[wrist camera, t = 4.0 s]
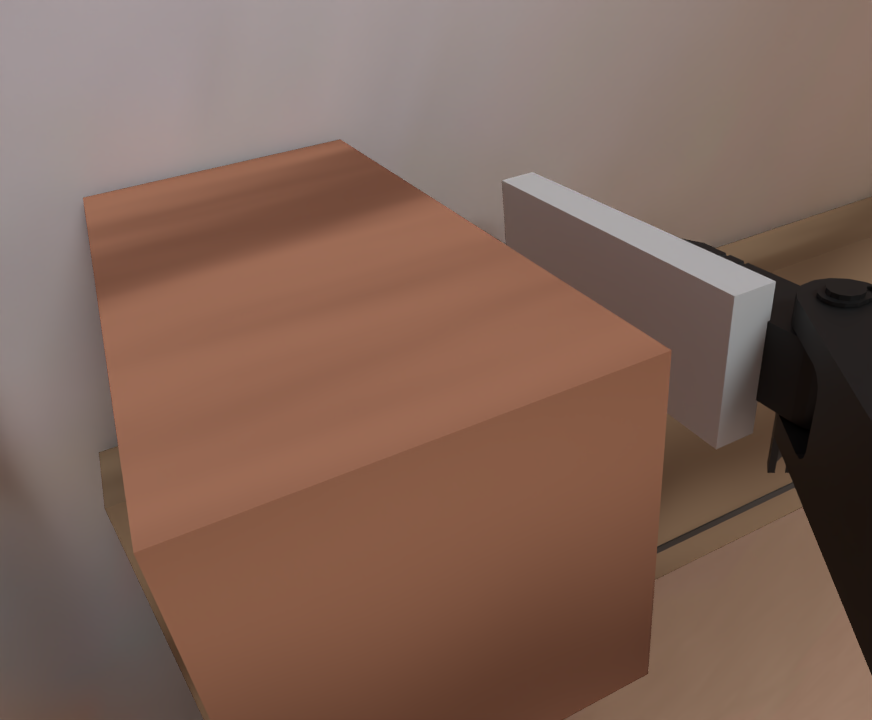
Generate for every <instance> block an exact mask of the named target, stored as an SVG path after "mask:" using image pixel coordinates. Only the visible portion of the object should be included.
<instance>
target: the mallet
mask: <svg viewBox="0 0 872 720" xmlns="http://www.w3.org/2000/svg"><path fill="white" fill-rule="evenodd" d="M83 201H84V208H85V215H86V222H87V229H88V236H89V243H90V250H91V257H92V264H93V271H94V279H95V286H96V293H97V300H98V307H99V314H100V321H101V328H102V335H103V342H104V349H105V356H106V363H107V370H108V377H109V384H110V392H111V399H112V406H113V413H114V420H115V427H116V434H117V441H118V448H119V455H120V462H121V469H122V476H123V483H124V490H125V498H126V505H127V512H128V519H129V526H130V533H131V540H132V547H133V553H134V556H135V558H136V560H137V562H138V564H139V566H140V569H141V571H142V573H143V575H144V577H145V579H146V582H147V584H148V586H149V588H150V590H151V592H152V595H153V597H154V599H155V601H156V603H157V605H158V608H159V610H160V612H161V614H162V616H163V618H164V621H165V623H166V625H167V627H168V629H169V631H170V634H171V636H172V638H173V640H174V642H175V645H176V647H177V649H178V651H179V653H180V655H181V658H182V660H183V662H184V664H185V666H186V668H187V671H188V673H189V675H190V677H191V679H192V681H193V684H194V686H195V688H196V690H197V692H198V694H199V697H200V699H201V701H202V703H203V705H204V707H205V710H206V712H207V714H208V716H209V718H210V720H563V719H565V718H567V717H569V716H571V715H573V714H574V713H576V712H578V711H580V710H582V709H584V708H585V707H587V706H589V705H591V704H593V703H595V702H597V701H598V700H600V699H602V698H604V697H606V696H608V695H610V694H611V693H613V692H615V691H617V690H619V689H621V688H623V687H624V686H626V685H628V684H630V683H632V682H634V681H636V680H637V679H639V678H641V677H643V676H645V675H647V674H648V666H649V652H650V638H651V625H652V611H653V598H654V584H655V570H656V557H657V543H658V529H659V516H660V502H661V489H662V475H663V461H664V448H665V434H666V421H667V407H668V393H669V380H670V366H671V352H672V350H670V349H669V348H667V347H666V346H664V345H662V344H661V343H659V342H658V341H656V340H655V339H653V338H651V337H650V336H648V335H647V334H645V333H644V332H642V331H640V330H639V329H637V328H636V327H634V326H633V325H631V324H629V323H628V322H626V321H625V320H623V319H622V318H620V317H618V316H617V315H615V314H614V313H612V312H611V311H609V310H607V309H606V308H604V307H603V306H601V305H600V304H598V303H596V302H595V301H593V300H592V299H590V298H589V297H587V296H585V295H584V294H582V293H581V292H579V291H578V290H576V289H574V288H573V287H571V286H570V285H568V284H567V283H565V282H563V281H562V280H560V279H559V278H557V277H556V276H554V275H552V274H551V273H549V272H548V271H546V270H545V269H543V268H541V267H540V266H538V265H537V264H535V263H534V262H532V261H530V260H529V259H527V258H526V257H524V256H523V255H521V254H519V253H518V252H516V251H515V250H513V249H512V248H510V247H508V246H507V245H505V244H504V243H502V242H501V241H499V240H497V239H496V238H494V237H493V236H491V235H490V234H488V233H486V232H485V231H483V230H482V229H480V228H479V227H477V226H475V225H474V224H472V223H471V222H469V221H468V220H466V219H464V218H463V217H461V216H460V215H458V214H457V213H455V212H453V211H452V210H450V209H449V208H447V207H446V206H444V205H442V204H441V203H439V202H438V201H436V200H435V199H433V198H431V197H430V196H428V195H427V194H425V193H424V192H422V191H420V190H419V189H417V188H416V187H414V186H413V185H411V184H409V183H408V182H406V181H405V180H403V179H402V178H400V177H398V176H397V175H395V174H394V173H392V172H391V171H389V170H387V169H386V168H384V167H383V166H381V165H379V164H378V163H376V162H375V161H373V160H372V159H370V158H368V157H367V156H365V155H364V154H362V153H361V152H359V151H357V150H356V149H354V148H353V147H351V146H350V145H348V144H346V143H345V142H343V141H342V140H336V141H331V142H327V143H323V144H318V145H314V146H309V147H305V148H301V149H296V150H292V151H287V152H283V153H278V154H274V155H270V156H265V157H261V158H256V159H252V160H248V161H243V162H239V163H234V164H230V165H226V166H221V167H217V168H212V169H208V170H203V171H199V172H195V173H190V174H186V175H181V176H177V177H173V178H168V179H164V180H159V181H155V182H150V183H146V184H142V185H137V186H133V187H128V188H124V189H120V190H115V191H111V192H106V193H102V194H97V195H93V196H89V197H84V198H83Z"/></svg>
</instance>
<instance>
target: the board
mask: <svg viewBox="0 0 872 720" xmlns="http://www.w3.org/2000/svg"><path fill="white" fill-rule="evenodd" d="M716 249H718V250H720V251H723V252H725V253H726V255H727V256H728V255H732V256H734V257H736V258H739V259H741V260H743V261H744V264H746V263H750V264H752V265H754V266H757V267H759V268H761V269H764V270H766V271H768V272H770V273H773V274H775V275H777V276H779V277H782V278H784V279H786V280H789V281H791V282H793V283H795V284H798V285H800V286H801V285H802V284H805V283H808V282H810V281H813V280H818V279H826V278H844V279H853V280H858V281H863V282H867V283H870V284H872V197H869V198H866V199H863V200H860V201H857V202H854V203H851V204H848V205H845V206H842V207H839V208H836V209H833V210H830V211H827V212H824V213H821V214H818V215H815V216H812V217H809V218H806V219H802V220H799V221H796V222H793V223H790V224H787V225H784V226H781V227H778V228H775V229H772V230H769V231H766V232H763V233H760V234H757V235H754V236H751V237H748V238H745V239H742V240H739V241H736V242H733V243H730V244H727V245H724V246H721V247H718V248H716ZM775 413H776V412H774V411H772V410H771V409H769V408H768V407H766V406H765V405H763V404H761V403H760V402H757V409H756V416H755V422H754V429H753V433H752V434H750V435H748V436H746V437H743V438H741V439H739V440H736V441H734V442H732V443H730V444H727V445H725V446H723V447H721V448H718V449H715V448H714V447H712V446H711V445H709V444H708V443H707V442H705V441H704V440H703V439H701V438H700V437H699V436H697V435H696V434H695V433H693V432H692V431H691V430H689V429H688V428H687V427H685V426H684V425H682V424H681V423H680V422H678V421H677V420H676V419H674V418H673V417H672V416H670V415H669V414H668V413H667V421H666V434H665V448H664V461H663V475H662V489H661V502H660V516H659V529H658V543H657V557H656V570H655V580H656V579H658V578H660V577H662V576H664V575H666V574H668V573H670V572H672V571H674V570H676V569H678V568H680V567H682V566H684V565H686V564H688V563H690V562H692V561H694V560H696V559H698V558H700V557H702V556H704V555H706V554H708V553H710V552H713V551H715V550H717V549H719V548H721V547H723V546H725V545H727V544H729V543H731V542H733V541H735V540H737V539H739V538H741V537H743V536H745V535H747V534H749V533H751V532H753V531H755V530H757V529H759V528H761V527H763V526H765V525H767V524H769V523H771V522H773V521H775V520H777V519H779V518H781V517H783V516H785V515H787V514H790V513H792V512H794V511H796V510H798V509H800V508H802V507H803V506H802V504H801V501H800V499H799V496H798V494H797V491H796V489H795V487H794V484H793V482H792V479H791V477H790V474H789V473H785V468H786V465H785V462H784V460H783V457H781V458H780V459H779V460H778V461H777V463H776V469H775V473H767V460H768V454H769V449H770V443H771V437H772V431H773V425H774V419H775ZM99 457H100V467H101V477H102V487H103V497H104V506H105V510H106V512H107V514H108V517H109V519H110V521H111V523H112V525H113V527H114V529H115V532H116V534H117V536H118V538H119V540H120V542H121V544H122V546H123V549H124V551H125V553H126V555H127V557H128V559H129V561H130V564H131V566H132V568H133V570H134V572H135V574H136V576H137V578H138V581H139V583H140V585H141V587H142V589H143V591H144V593H145V596H146V598H147V600H148V602H149V604H150V606H151V608H152V610H153V613H154V615H155V617H156V619H157V621H158V623H159V625H160V627H161V630H162V632H163V634H164V636H165V638H166V640H167V642H168V645H169V647H170V649H171V651H172V653H173V655H174V657H175V659H176V662H177V664H178V666H179V668H180V670H181V672H182V674H183V677H184V679H185V681H186V683H187V685H188V687H189V689H190V691H191V694H192V696H193V698H194V700H195V702H196V704H197V706H198V709H199V711H200V713H201V715H202V717H203V719H204V720H210V718H209V716H208V714H207V712H206V710H205V707H204V705H203V703H202V701H201V699H200V697H199V694H198V692H197V690H196V688H195V686H194V684H193V681H192V679H191V677H190V675H189V673H188V671H187V668H186V666H185V664H184V662H183V660H182V658H181V655H180V653H179V651H178V649H177V647H176V645H175V642H174V640H173V638H172V636H171V634H170V631H169V629H168V627H167V625H166V623H165V621H164V618H163V616H162V614H161V612H160V610H159V608H158V605H157V603H156V601H155V599H154V597H153V595H152V592H151V590H150V588H149V586H148V584H147V582H146V579H145V577H144V575H143V573H142V571H141V569H140V566H139V564H138V562H137V560H136V558H135V556H134V553H133V547H132V540H131V533H130V526H129V519H128V512H127V505H126V498H125V490H124V483H123V476H122V469H121V462H120V455H119V448H118V446H117V447H114V448H111V449H108V450H105V451H102V452H99Z"/></svg>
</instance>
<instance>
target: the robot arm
mask: <svg viewBox="0 0 872 720" xmlns="http://www.w3.org/2000/svg"><path fill="white" fill-rule="evenodd" d="M502 191H503V208H504V224H505V240H506V245H507V246H508V247H510V248H512V249H513V250H515V251H516V252H518V253H519V254H521V255H523V256H524V257H526V258H527V259H529V260H530V261H532V262H534V263H535V264H537V265H538V266H540V267H541V268H543V269H545V270H546V271H548V272H549V273H551V274H552V275H554V276H556V277H557V278H559V279H560V280H562V281H563V282H565V283H567V284H568V285H570V286H571V287H573V288H574V289H576V290H578V291H579V292H581V293H582V294H584V295H585V296H587V297H589V298H590V299H592V300H593V301H595V302H596V303H598V304H600V305H601V306H603V307H604V308H606V309H607V310H609V311H611V312H612V313H614V314H615V315H617V316H618V317H620V318H622V319H623V320H625V321H626V322H628V323H629V324H631V325H633V326H634V327H636V328H637V329H639V330H640V331H642V332H644V333H645V334H647V335H648V336H650V337H651V338H653V339H655V340H656V341H658V342H659V343H661V344H662V345H664V346H666V347H667V348H669V349H670V350H672V352H671V366H670V380H669V393H668V407H667V413H668V414H669V415H670V416H672V417H673V418H674V419H676V420H677V421H678V422H680V423H681V424H682V425H684V426H685V427H687V428H688V429H689V430H691V431H692V432H693V433H695V434H696V435H697V436H699V437H700V438H701V439H703V440H704V441H705V442H707V443H708V444H709V445H711V446H712V447H714V448H715V449H718V448H721V447H723V446H725V445H727V444H730V443H732V442H734V441H736V440H739V439H741V438H743V437H746V436H748V435H750V434H752V433H753V429H754V422H755V416H756V409H757V402H760V403H761V404H763V405H765V406H766V407H768V408H769V409H771V410H772V411H774V412H776V413H775V419H774V425H773V431H772V437H771V443H770V449H769V454H768V460H767V473H775V469H776V463H777V461H778V460H779V459H780V458H781V457H783V460H784V462H785V465H786V468H785V473H789V474H790V477H791V479H792V482H793V484H794V487H795V489H796V491H797V494H798V496H799V499H800V501H801V504H802V506H803V509H804V511H805V513H806V516H807V518H808V521H809V523H810V526H811V528H812V531H813V533H814V535H815V538H816V540H817V543H818V545H819V548H820V550H821V552H822V555H823V557H824V560H825V562H826V565H827V567H828V570H829V572H830V574H831V577H832V579H833V582H834V584H835V587H836V589H837V592H838V594H839V596H840V599H841V601H842V604H843V606H844V609H845V611H846V614H847V616H848V618H849V621H850V623H851V626H852V628H853V631H854V633H855V635H856V638H857V640H858V643H859V645H860V648H861V650H862V653H863V655H864V657H865V660H866V662H867V665H868V667H869V670H870V672H871V675H872V284H870V283H867V282H863V281H858V280H853V279H844V278H826V279H818V280H813V281H810V282H808V283H805V284H802V285H801V286H800V285H798V284H795V283H793V282H791V281H789V280H786V279H784V278H782V277H779V276H777V275H775V274H773V273H770V272H768V271H766V270H764V269H761V268H759V267H757V266H754V265H752V264H750V263H746V264H744V261H743V260H741V259H739V258H736V257H734V256H732V255H728V256H727V255H726V253H725V252H723V251H720V250H718V249H716V248H714V247H711V246H709V245H707V244H705V243H700V242H695V241H691V240H686V239H681V238H678V237H676V236H674V235H672V234H669V233H667V232H665V231H663V230H660V229H658V228H656V227H654V226H652V225H649V224H647V223H645V222H643V221H640V220H638V219H636V218H634V217H632V216H629V215H627V214H625V213H623V212H620V211H618V210H616V209H614V208H612V207H609V206H607V205H605V204H603V203H600V202H598V201H596V200H594V199H591V198H589V197H587V196H585V195H583V194H580V193H578V192H576V191H574V190H571V189H569V188H567V187H565V186H563V185H560V184H558V183H556V182H554V181H551V180H549V179H547V178H545V177H543V176H540V175H538V174H536V173H534V172H531V173H528V174H524V175H520V176H516V177H512V178H509V179H505V180H502Z"/></svg>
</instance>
